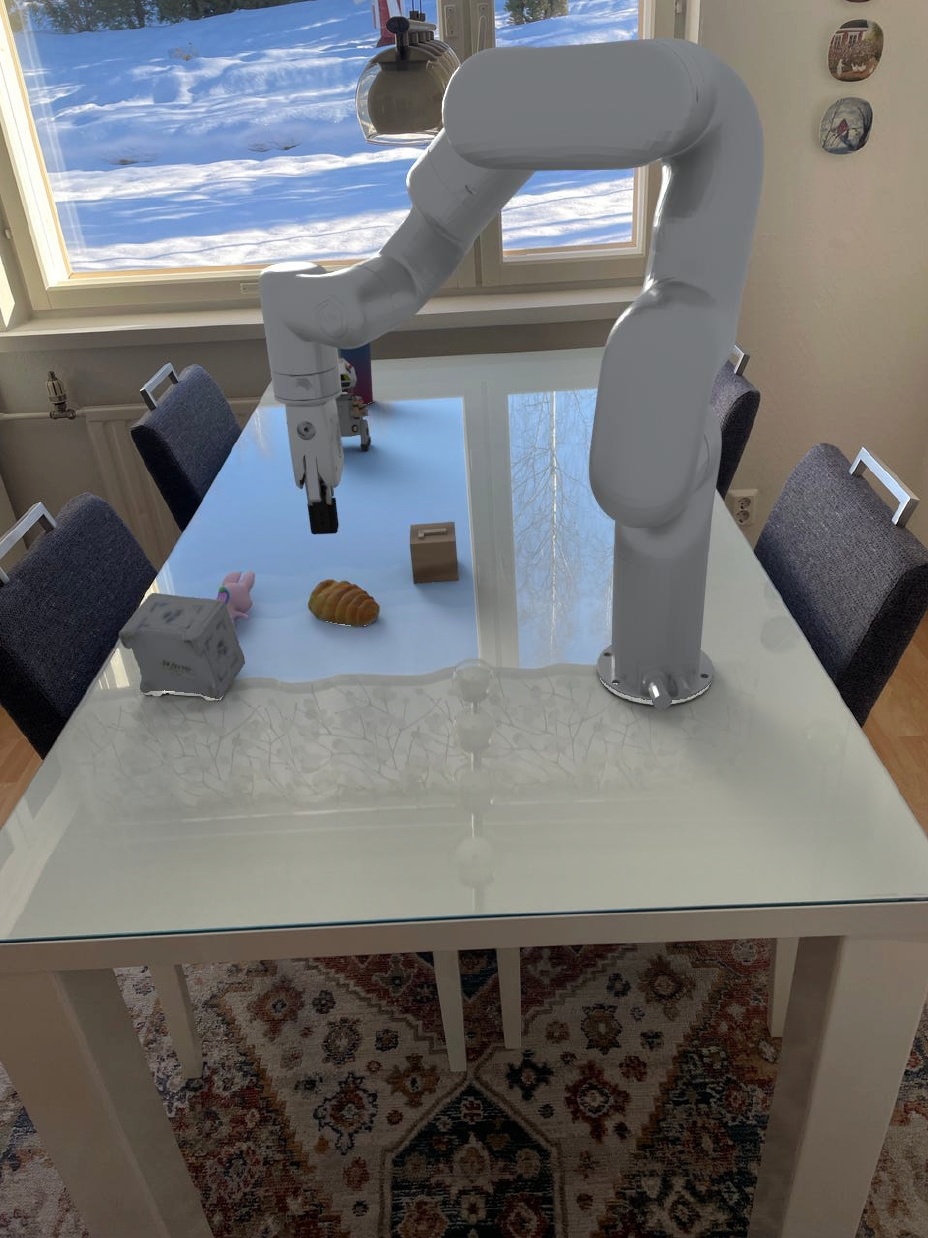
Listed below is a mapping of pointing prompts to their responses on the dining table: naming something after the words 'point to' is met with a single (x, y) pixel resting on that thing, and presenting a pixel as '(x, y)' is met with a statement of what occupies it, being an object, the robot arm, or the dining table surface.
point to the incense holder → (184, 645)
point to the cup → (360, 371)
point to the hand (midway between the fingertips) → (325, 530)
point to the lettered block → (433, 552)
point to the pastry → (343, 603)
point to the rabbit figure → (237, 594)
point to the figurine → (351, 407)
